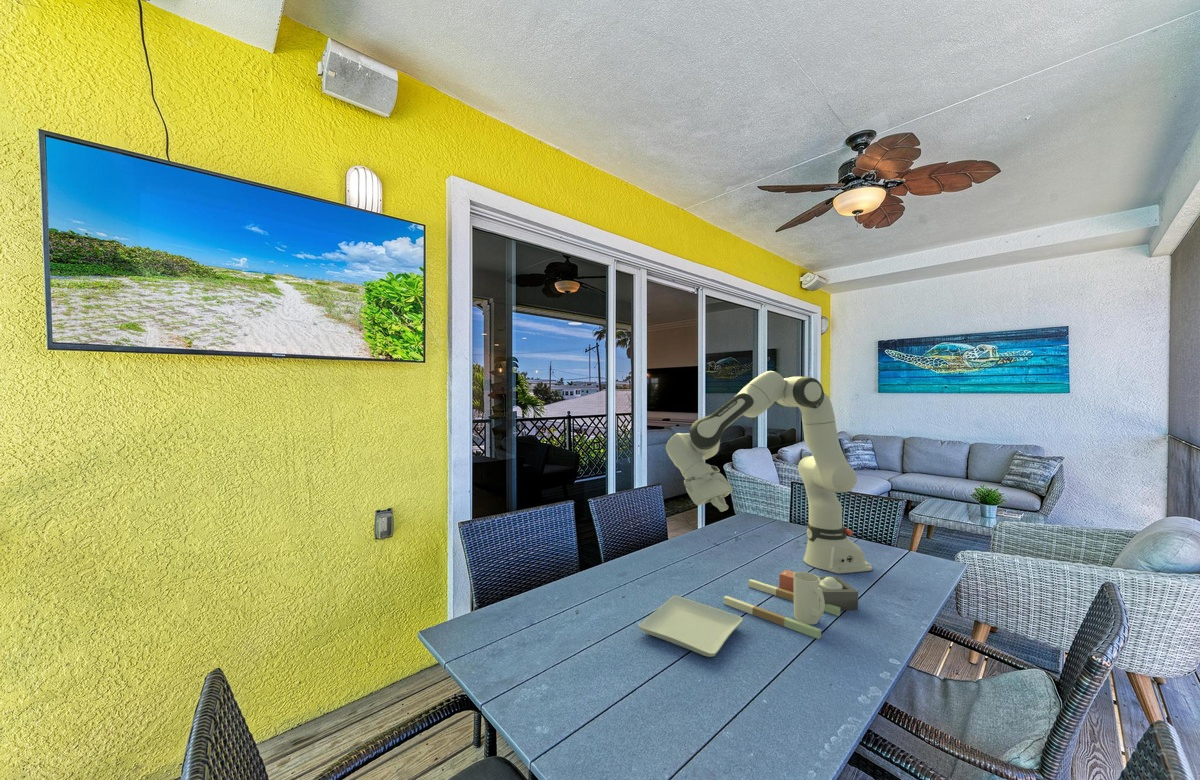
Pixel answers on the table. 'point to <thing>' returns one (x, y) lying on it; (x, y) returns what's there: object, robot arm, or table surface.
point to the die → (786, 580)
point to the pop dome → (830, 583)
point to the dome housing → (841, 596)
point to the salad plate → (691, 625)
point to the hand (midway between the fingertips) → (725, 510)
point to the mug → (807, 598)
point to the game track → (774, 616)
